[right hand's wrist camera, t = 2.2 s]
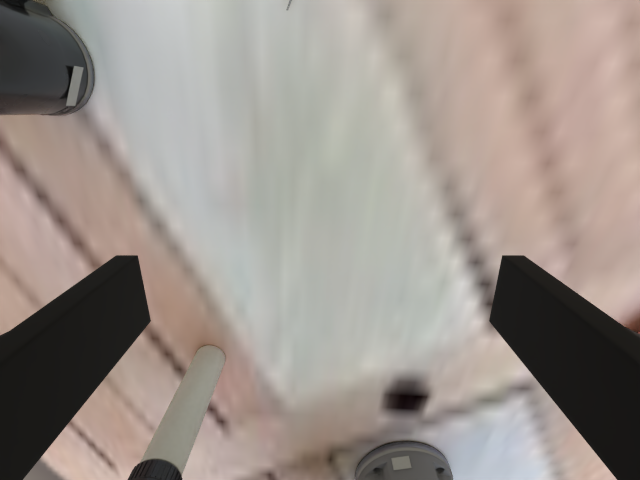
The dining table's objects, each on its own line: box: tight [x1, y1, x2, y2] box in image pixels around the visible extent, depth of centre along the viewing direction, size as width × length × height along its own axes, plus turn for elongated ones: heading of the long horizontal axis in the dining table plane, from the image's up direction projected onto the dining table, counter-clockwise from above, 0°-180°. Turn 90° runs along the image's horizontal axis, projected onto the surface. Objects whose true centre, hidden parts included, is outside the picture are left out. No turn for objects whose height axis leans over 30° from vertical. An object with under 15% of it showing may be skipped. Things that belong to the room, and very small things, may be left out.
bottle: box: [140, 345, 225, 476], centre depth 39 cm, size 4×4×18 cm
